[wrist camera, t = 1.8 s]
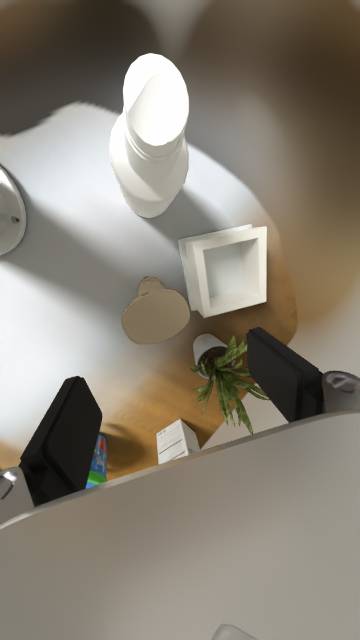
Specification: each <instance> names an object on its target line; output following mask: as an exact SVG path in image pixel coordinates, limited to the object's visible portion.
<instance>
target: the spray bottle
mask: <svg viewBox="0 0 360 640" xmlns="http://www.w3.org/2000/svg"><path fill="white" fill-rule="evenodd" d="M123 95H124V108H123V114H122V115H121V116H119V117H118V120H117V122H116V124H115V126H114V128H113V130H112V133H111V139H110V146H109V150H110V159H111V165H112V167H113V170H114V173H115V175H116V178H117V181H118V183H119V186H120V189H121V191H122V194H123V196H124V199H125V202H126V203H127V205H128V206H129V207H130V209H131V210H132V211H134V212H135V213H136V214H137V215H140V216H142V217H145V218H153V217H156V216H159V215H160V214H162V213H163V212H164V211H165V210H166V209H167V207H168V206H169V205H170V203H171V202H172V201H173V199H174V198H175V197H176V195H177V194H178V193H179V191H180V189H181V188H182V186H183V184H184V183H185V180H186V176H187V172H188V158H189V153H188V149H187V144H186V140H185V137H184V128H185V126H186V122H187V118H188V114H189V98H188V93H187V89H186V84H185V82H184V80H183V78H182V76H181V74H180V72H179V71H178V69H177V68H176V67H175V66H174V64H173V63H172V62H171V61H169V60H168V59H166V58H165V57H163V56H161V55H157V54H151V53H150V54H146V55H143V56H140V57H139V58H138V59H137V60H136V61H135V62H133V63H132V64H131V66H130V68H129V70H128V72H127V74H126V76H125V82H124V89H123Z"/></svg>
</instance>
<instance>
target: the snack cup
mask: <svg viewBox="0 0 360 640" xmlns="http://www.w3.org/2000/svg"><path fill="white" fill-rule="evenodd" d="M106 445H107V443H106V438H105V437H104V436H102V435H100V434H98V439H97V443H96V447H95V451H94V455H93V460H92V464H91V468H90V472H89V477H88V481H87V485H86V488H89V487H92V486H95V485H98V484H101V483H104V482H107V480H106V463H107V457H106V455H107V452H106V451H107V447H106Z"/></svg>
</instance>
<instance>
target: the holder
mask: <svg viewBox="0 0 360 640" xmlns="http://www.w3.org/2000/svg"><path fill="white" fill-rule="evenodd" d="M266 231H267V226H264V227H257V228H252V224H248V225H244V226H239V227H234V228H230V229H225V230H220V231H216V232H211V233H206V234H202V235H197V236H192V237H188V238H183V239H178V245H179V250H180V256H181V261H182V267H183V272H184V278H185V283H186V289H187V295H188V300H189V306H190V310H191V311H195V310H198V311H199V312H200V314H201V315H202V316H203V317H204V318H206V317H209V316H213V315H217V314H221V313H225V312H229V311H232V310H236V309H240V308H244V307H248V306H252V305H255V304H259V303H263V302H266Z"/></svg>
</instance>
